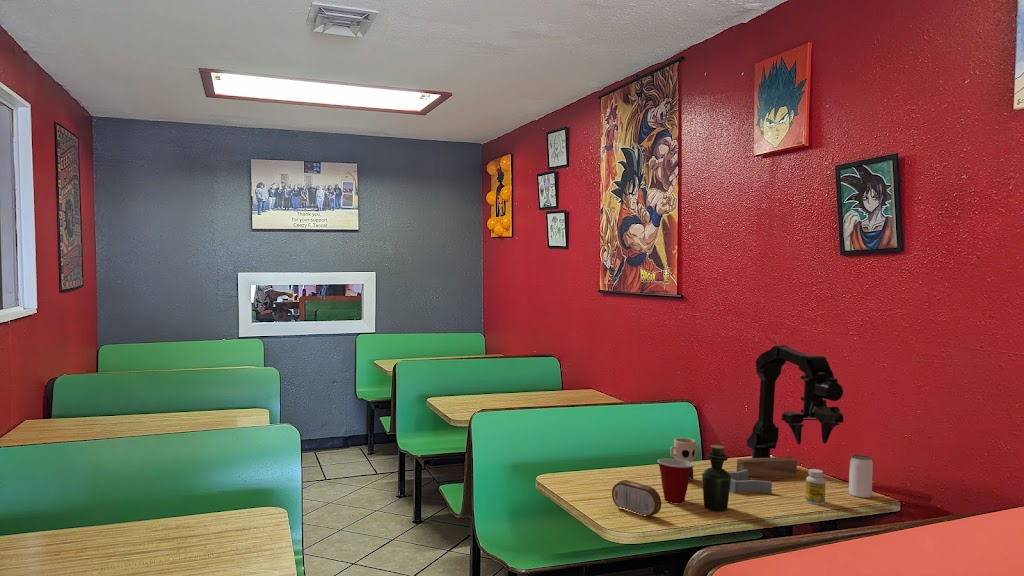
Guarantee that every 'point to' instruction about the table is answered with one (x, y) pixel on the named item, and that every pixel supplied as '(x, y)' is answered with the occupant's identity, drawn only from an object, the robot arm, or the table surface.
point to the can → (860, 476)
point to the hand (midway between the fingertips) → (811, 443)
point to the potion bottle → (716, 481)
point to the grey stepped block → (748, 483)
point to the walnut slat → (768, 467)
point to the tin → (636, 497)
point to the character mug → (685, 450)
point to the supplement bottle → (815, 487)
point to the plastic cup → (675, 478)
